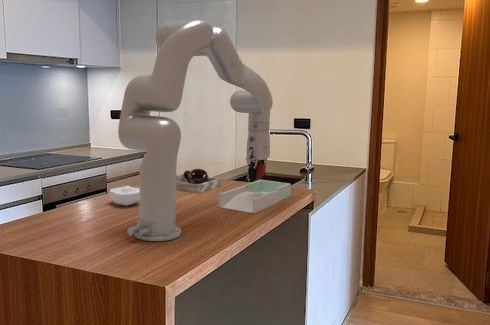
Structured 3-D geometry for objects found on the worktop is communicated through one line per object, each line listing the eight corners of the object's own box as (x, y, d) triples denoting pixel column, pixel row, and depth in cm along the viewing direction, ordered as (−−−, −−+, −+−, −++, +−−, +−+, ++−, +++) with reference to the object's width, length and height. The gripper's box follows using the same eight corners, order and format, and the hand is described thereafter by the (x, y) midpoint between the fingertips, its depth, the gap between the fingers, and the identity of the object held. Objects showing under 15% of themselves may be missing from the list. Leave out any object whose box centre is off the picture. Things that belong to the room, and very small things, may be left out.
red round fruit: (263, 182, 161) (264, 159, 160) (247, 181, 162) (248, 158, 161) (265, 179, 167) (266, 157, 166) (250, 178, 168) (251, 156, 167)
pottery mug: (213, 186, 194) (213, 171, 188) (200, 199, 187) (201, 184, 182) (189, 176, 198) (188, 161, 192) (176, 188, 191) (175, 173, 186)
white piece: (254, 216, 150) (255, 199, 150) (218, 209, 157) (218, 193, 156) (277, 205, 166) (278, 190, 165) (243, 199, 173) (244, 185, 172)
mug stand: (198, 193, 177) (198, 185, 176) (158, 186, 186) (159, 179, 185) (221, 186, 192) (221, 179, 191) (183, 180, 200) (184, 173, 200)
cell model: (137, 199, 163) (137, 180, 162) (143, 207, 152) (144, 187, 151) (107, 201, 159) (107, 181, 158) (112, 209, 148) (112, 189, 147)
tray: (276, 202, 166) (277, 188, 165) (244, 197, 172) (245, 184, 172) (290, 196, 177) (290, 183, 176) (260, 191, 183) (260, 179, 182)
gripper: (257, 129, 152) (254, 182, 155) (278, 126, 168) (276, 175, 170) (237, 127, 156) (235, 180, 159) (260, 125, 171) (258, 173, 174)
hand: (256, 177), depth 164 cm, fingers closed on red round fruit, 5 cm apart
